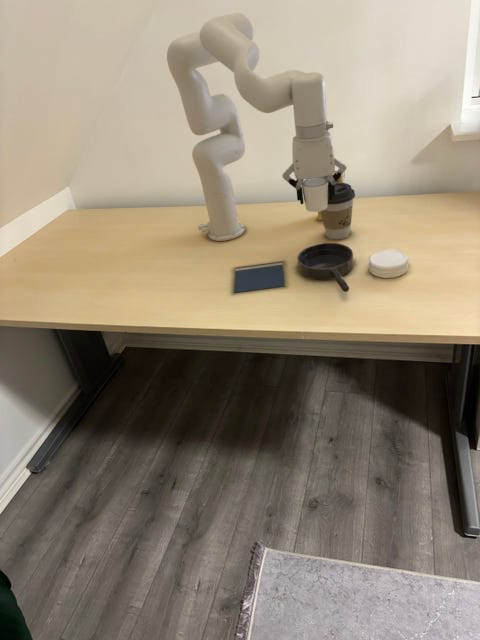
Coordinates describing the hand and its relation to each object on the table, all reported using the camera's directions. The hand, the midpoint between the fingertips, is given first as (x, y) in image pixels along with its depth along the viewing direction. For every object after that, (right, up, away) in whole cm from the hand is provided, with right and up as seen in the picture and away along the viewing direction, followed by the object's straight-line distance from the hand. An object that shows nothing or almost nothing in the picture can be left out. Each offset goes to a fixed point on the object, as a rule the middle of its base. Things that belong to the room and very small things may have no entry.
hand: (316, 199), depth 130 cm
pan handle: (+6, -21, -1) cm, 22 cm away
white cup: (0, -2, +1) cm, 2 cm away
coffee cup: (+11, -5, +26) cm, 28 cm away
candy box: (+11, +3, +37) cm, 38 cm away
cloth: (-14, -19, +12) cm, 27 cm away
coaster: (+20, -18, +4) cm, 27 cm away
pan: (+4, -16, +11) cm, 20 cm away
